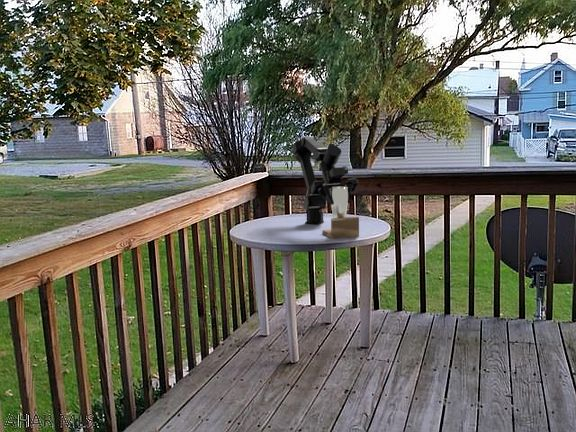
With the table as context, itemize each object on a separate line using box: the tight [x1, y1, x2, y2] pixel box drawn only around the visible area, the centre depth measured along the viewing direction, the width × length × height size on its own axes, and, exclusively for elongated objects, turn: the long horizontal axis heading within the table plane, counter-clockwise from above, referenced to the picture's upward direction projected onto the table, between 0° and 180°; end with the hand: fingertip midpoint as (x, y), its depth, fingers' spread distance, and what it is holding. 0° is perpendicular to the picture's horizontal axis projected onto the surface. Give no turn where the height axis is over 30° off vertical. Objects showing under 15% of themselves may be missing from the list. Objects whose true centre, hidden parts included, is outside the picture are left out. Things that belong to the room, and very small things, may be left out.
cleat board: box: [322, 215, 360, 240], centre depth 219 cm, size 10×11×8 cm
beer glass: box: [329, 186, 349, 219], centre depth 219 cm, size 7×7×15 cm
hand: (340, 203), depth 217 cm, fingers closed on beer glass, 7 cm apart
